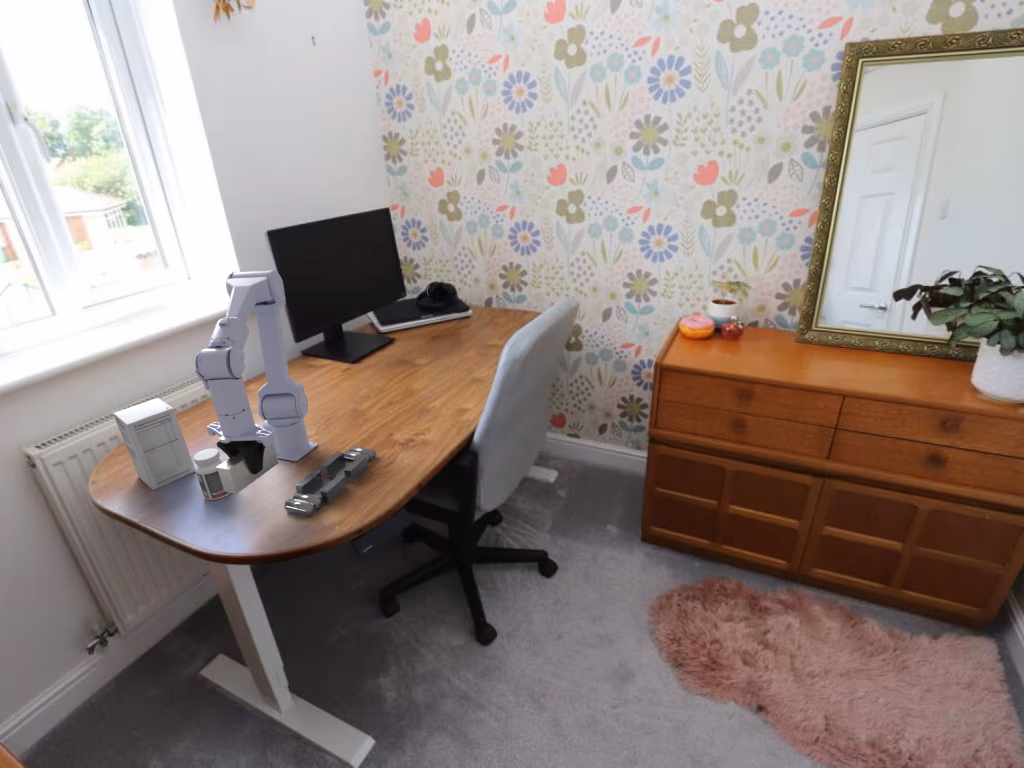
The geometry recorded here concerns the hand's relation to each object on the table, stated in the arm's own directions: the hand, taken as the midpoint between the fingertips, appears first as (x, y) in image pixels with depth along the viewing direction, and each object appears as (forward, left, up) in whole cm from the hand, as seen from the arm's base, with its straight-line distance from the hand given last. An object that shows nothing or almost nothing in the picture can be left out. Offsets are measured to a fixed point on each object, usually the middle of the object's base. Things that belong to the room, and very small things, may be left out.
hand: (250, 470), depth 104 cm
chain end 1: (+8, +6, -10) cm, 14 cm away
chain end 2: (+8, +19, -10) cm, 23 cm away
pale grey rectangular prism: (0, 0, -2) cm, 2 cm away
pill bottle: (-14, +2, -10) cm, 17 cm away
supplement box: (-32, +4, -10) cm, 34 cm away
